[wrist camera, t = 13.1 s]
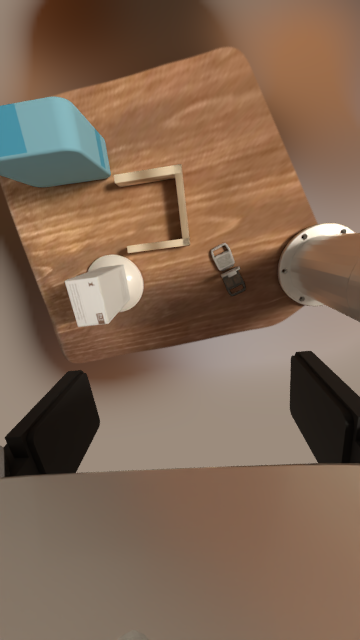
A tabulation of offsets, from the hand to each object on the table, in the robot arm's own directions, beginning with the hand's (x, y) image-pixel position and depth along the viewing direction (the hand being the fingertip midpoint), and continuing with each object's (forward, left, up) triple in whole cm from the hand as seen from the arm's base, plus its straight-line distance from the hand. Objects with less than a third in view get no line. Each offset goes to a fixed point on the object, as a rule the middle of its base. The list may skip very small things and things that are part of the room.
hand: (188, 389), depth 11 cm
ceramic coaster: (+13, -1, -30) cm, 33 cm away
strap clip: (-6, -1, -31) cm, 31 cm away
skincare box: (+13, -1, -30) cm, 32 cm away
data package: (+16, -19, -31) cm, 39 cm away
